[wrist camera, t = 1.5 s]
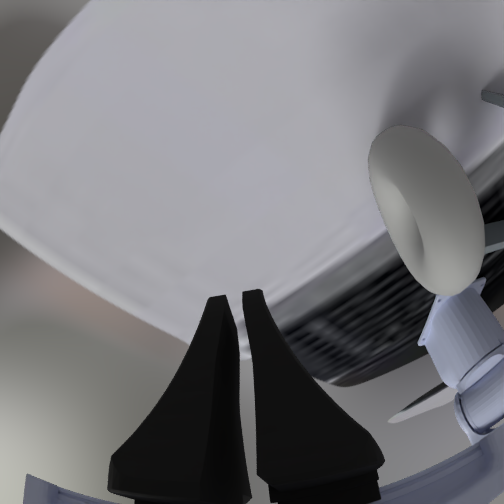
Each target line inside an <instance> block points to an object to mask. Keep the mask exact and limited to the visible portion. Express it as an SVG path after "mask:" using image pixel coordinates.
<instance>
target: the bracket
mask: <svg viewBox="0 0 504 504" xmlns="http://www.w3.org/2000/svg"><path fill="white" fill-rule="evenodd" d="M482 100H484V101H487V102H490V103H492V104H495V105H498V106H500V107H503V108H504V95H502V94H497V93H493V92H488V91H483V90H482ZM484 231H485V252H484V254H486V253H489V252H492V251H495V250H498V249H502V248H504V220H502V221H497V222H493V223H489V224H484Z"/></svg>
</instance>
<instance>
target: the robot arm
mask: <svg viewBox="0 0 504 504" xmlns="http://www.w3.org/2000/svg"><path fill="white" fill-rule="evenodd" d="M485 282H486V278H485V277H482V278H479V279H477V280H474V281H473V282H472V283H471V284H470V285H469V286H468V287H467V288H465V289H464V290H463V291H462V292H461V293H459V294H456V295H453V296H443V295H438V294H437V295H436V298H435V300H434V303H433V306H432V309H431V311H430V314H429V316H428V319H427V322H426V324H425V326H424V329H423V331H422V334H421V336H420V338H419V341H418V345H419V346H421V345H424V344H425V346H426V348H427V350H428V352H429V354H430V356H431V358H432V360H433V362H434V364H435V366H436V368H437V370H438V373H439V375H440V377H441V379H442V380H443V382H444V383H445V384H447V385H448V386H449V387H451V388H454V389H457V390H458V392H457V393H456V395H455V401H454V411H455V415H456V418H457V421H458V423H459V424H460V426H461V428H462V429H463V431H464V432H465V433H466V434H467V436H468V438H469V440H470V442H471V444H472V446H470V447H469V448H467V449H465V450H463V451H462V452H460V453H458V454H456V455H454V456H452V457H450V458H449V459H447V460H445V461H443V462H441V463H438V464H436V465H434V466H432V467H430V468H428V469H426V470H423V471H421V472H419V473H417V474H414V475H412V476H409V477H407V478H404V479H402V480H399V481H397V482H394V483H391V484H389V485H386V486H383V487H380V488H379V486H378V482H377V480H379V477H378V473H377V469H378V468H380V467H381V466H382V465H383V463H384V462H385V459H384V456H383V454H382V451H381V449H380V448H379V446H378V444H377V443H376V441H375V440H374V438H373V437H372V436H371V434H370V433H369V432H368V431H367V430H366V429H365V428H363V427H362V426H361V425H360V424H358V423H357V422H356V421H355V420H354V419H353V418H351V417H350V416H349V415H348V414H347V413H346V412H345V411H344V410H343V409H342V408H341V407H339V406H338V405H337V404H336V403H335V402H334V401H333V399H332V398H331V397H329V395H328V394H327V393H326V392H325V391H324V390H323V389H322V388H321V387H320V386H319V385H318V384H317V383H316V381H315V380H314V379H313V378H312V376H311V375H310V374H309V373H308V372H307V370H306V369H305V368H304V367H303V365H302V364H301V363H300V361H299V360H298V359H297V357H296V356H295V354H294V353H293V351H292V350H291V348H290V347H289V345H288V344H287V342H286V341H285V339H284V338H283V336H282V334H281V333H280V331H279V329H278V327H277V325H276V324H275V322H274V320H273V318H272V316H271V314H270V312H269V309H268V307H267V305H266V302H265V299H264V295H263V291H262V290H260V289H255V290H250V291H244V292H242V304H243V312H244V318H245V323H246V328H247V333H248V339H249V344H250V349H251V355H252V362H253V374H254V392H255V415H256V451H257V475H258V476H259V477H260V478H261V479H262V480H264V481H265V482H266V483H267V484H268V487H269V495H270V502H271V503H276V502H278V504H489V503H490V502H491V501H492V500H494V499H495V498H496V497H497V496H498V495H500V494H501V493H502V492H503V491H504V423H503V424H502V425H500V426H499V427H497V428H495V429H490V427H492V426H493V425H495V424H496V423H497V422H499V421H500V420H501V419H503V418H504V330H503V328H502V327H501V325H500V324H499V322H498V321H497V319H496V318H495V316H494V315H493V313H492V312H491V310H490V309H489V307H488V306H487V305H486V303H485V302H484V300H483V299H482V298H481V296H480V294H481V292H482V289H483V287H484V285H485ZM239 377H240V352H239V342H238V333H237V327H236V325H235V322H234V319H233V316H232V313H231V310H230V306H229V303H228V300H227V297H226V295H220V296H214V297H209V299H208V300H207V303H206V306H205V309H204V312H203V315H202V317H201V320H200V323H199V325H198V328H197V330H196V333H195V335H194V337H193V340H192V342H191V344H190V346H189V349H188V351H187V353H186V355H185V357H184V359H183V361H182V363H181V365H180V367H179V369H178V371H177V372H176V374H175V376H174V378H173V379H172V381H171V383H170V384H169V386H168V388H167V389H166V391H165V392H164V394H163V395H162V397H161V398H160V400H159V401H158V403H157V404H156V406H155V407H154V408H153V410H152V411H151V412H150V414H149V415H148V416H147V417H146V419H145V420H144V421H143V422H142V423H141V425H140V426H139V427H138V428H137V430H136V431H135V432H134V433H133V434H132V435H131V437H129V438H128V440H126V442H125V443H124V444H123V445H122V446H121V447H120V448H119V449H118V450H117V451H116V452H115V453H114V454H113V455H112V456H111V461H110V465H109V474H108V487H107V489H108V491H109V492H111V493H113V494H116V495H120V496H124V497H127V498H131V499H135V504H246V503H247V502H248V501H250V499H251V498H252V495H251V489H250V484H249V478H248V472H247V466H246V459H245V452H244V444H243V436H242V428H241V419H240V406H239V405H240V404H239V388H240V387H239V386H240V385H239V384H240V382H239V380H240V378H239ZM23 504H119V503H114V502H109V501H105V500H101V499H97V498H93V497H89V496H85V495H83V494H79V493H76V492H73V491H70V490H66V489H64V488H61V487H58V486H57V485H54V484H52V483H49V482H46V481H44V480H42V479H39V478H37V477H34V476H32V475H30V474H27V475H26V482H25V489H24V499H23Z"/></svg>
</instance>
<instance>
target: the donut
mask: <svg viewBox="0 0 504 504" xmlns="http://www.w3.org/2000/svg"><path fill="white" fill-rule="evenodd" d="M368 168H369V178H370V182H371V186H372V190H373V194H374V196H375V199H376V202H377V205H378V208H379V211H380V213H381V216H382V218H383V221H384V223H385V226H386V228H387V230H388V232H389V234H390V237H391V239H392V241H393V243H394V245H395V247H396V249H397V251H398V253H399V255H400V256H401V258H402V260H403V261H404V263H405V265H406V266H407V268H408V270H409V271H410V272H411V274H412V275H413V276H414V278H415V279H416V280H417V281H418V282H419V283H420V284H421V285H422V286H424V287H425V288H426V289H427V290H428V291H430V292H432V293H434V294H438V295H443V296H453V295H456V294H459V293H461V292H462V291H463V290H464V289H465V288H467V287H468V286H469V285H470V284H471V283H472V282H473V281H474V280H475V279H476V277H477V276H478V274H479V272H480V268H481V265H482V261H483V257H484V252H485V231H484V221H483V217H482V213H481V210H480V206H479V203H478V199H477V196H476V193H475V191H474V189H473V187H472V185H471V183H470V181H469V179H468V177H467V175H466V173H465V172H464V170H463V168H462V166H461V165H460V164H459V162H458V161H457V160H456V159H455V157H454V156H453V155H452V154H451V152H450V151H449V150H448V149H447V148H446V146H445V145H443V144H442V143H441V142H439V141H438V140H437V139H435V138H434V137H433V136H431V135H430V134H428V133H427V132H425V131H424V130H422V129H418V128H414V127H409V126H404V125H397V126H392V127H390V128H389V129H387V130H385V131H384V132H382V133H381V134H379V135H378V136H377V137H376V138H375V139H374V141H373V142H372V145H371V149H370V152H369V157H368Z"/></svg>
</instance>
